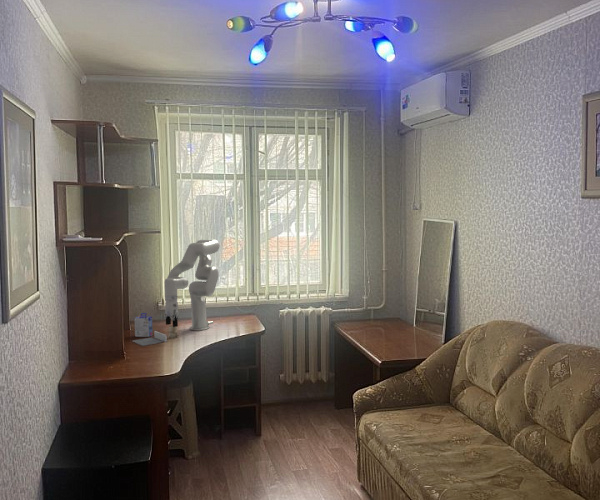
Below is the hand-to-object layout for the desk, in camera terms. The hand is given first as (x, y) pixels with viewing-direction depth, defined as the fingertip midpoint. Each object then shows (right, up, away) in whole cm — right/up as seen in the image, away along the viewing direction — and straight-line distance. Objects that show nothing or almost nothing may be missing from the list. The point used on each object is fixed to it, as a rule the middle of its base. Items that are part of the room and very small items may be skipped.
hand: (171, 325), depth 367 cm
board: (-13, -9, -9) cm, 18 cm away
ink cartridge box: (-19, -8, +8) cm, 22 cm away
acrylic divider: (-6, -8, -4) cm, 11 cm away
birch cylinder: (+1, -8, +1) cm, 8 cm away
